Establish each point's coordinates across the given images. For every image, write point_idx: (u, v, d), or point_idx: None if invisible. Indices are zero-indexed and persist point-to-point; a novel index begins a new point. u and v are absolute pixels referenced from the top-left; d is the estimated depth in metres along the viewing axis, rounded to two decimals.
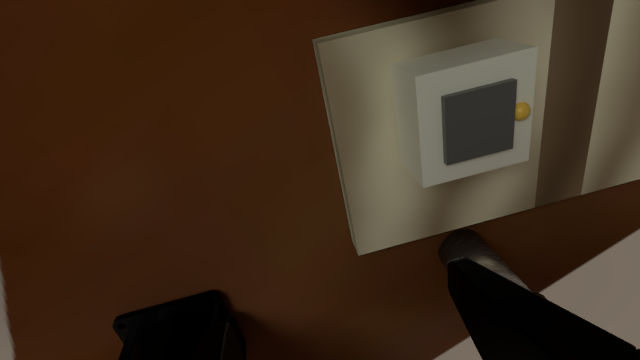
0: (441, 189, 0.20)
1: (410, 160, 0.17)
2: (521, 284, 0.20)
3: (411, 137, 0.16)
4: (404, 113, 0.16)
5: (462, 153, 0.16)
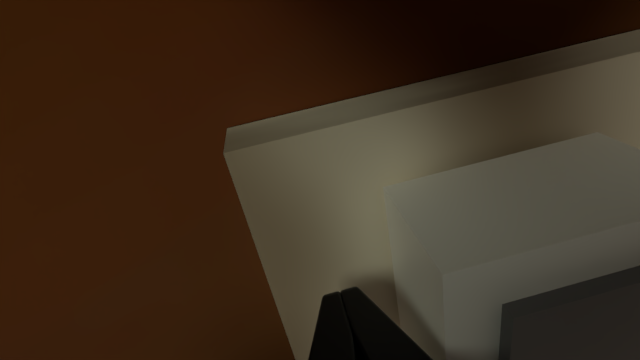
0: None
1: None
2: None
3: (426, 347, 0.08)
4: (411, 293, 0.08)
5: None
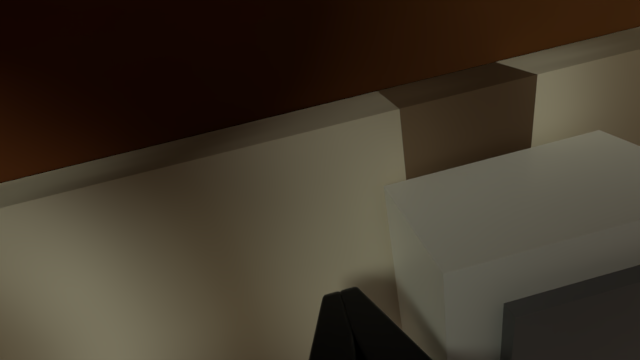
0: None
1: None
2: None
3: (427, 346, 0.08)
4: (412, 293, 0.08)
5: None
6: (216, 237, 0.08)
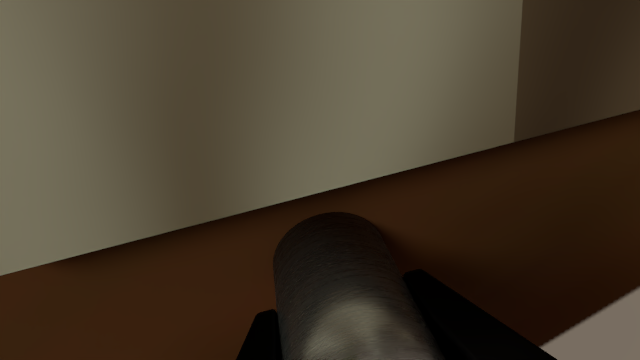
0: (162, 53, 0.06)
1: None
2: None
3: None
4: None
5: None
6: None
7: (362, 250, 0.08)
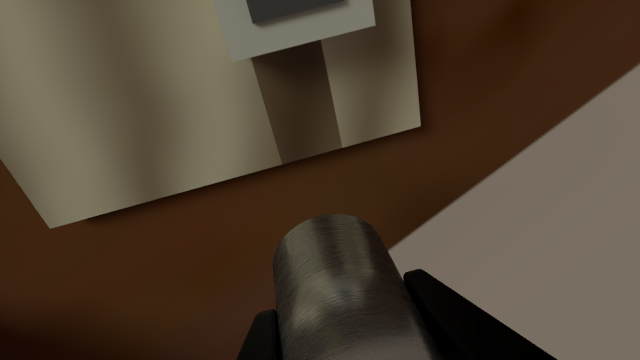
0: (133, 138, 0.16)
1: None
2: None
3: None
4: None
5: (271, 4, 0.11)
6: None
7: (362, 252, 0.08)
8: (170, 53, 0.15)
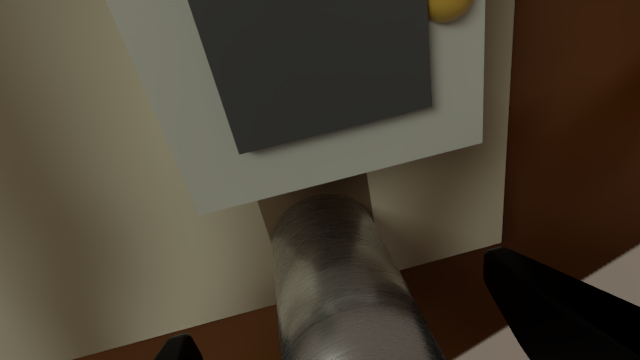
0: (52, 278, 0.10)
1: None
2: None
3: None
4: None
5: (279, 118, 0.05)
6: None
7: (351, 225, 0.09)
8: (105, 154, 0.09)
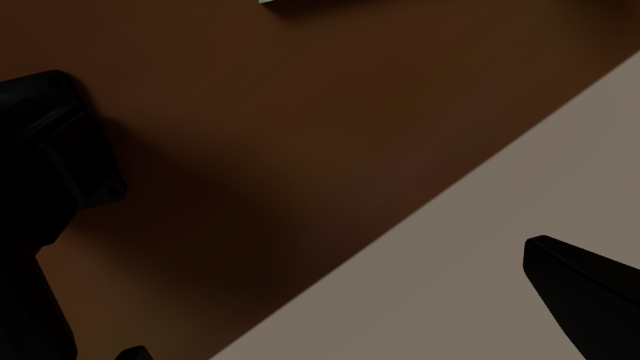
0: None
1: None
2: None
3: None
4: None
5: None
6: None
7: None
8: None
